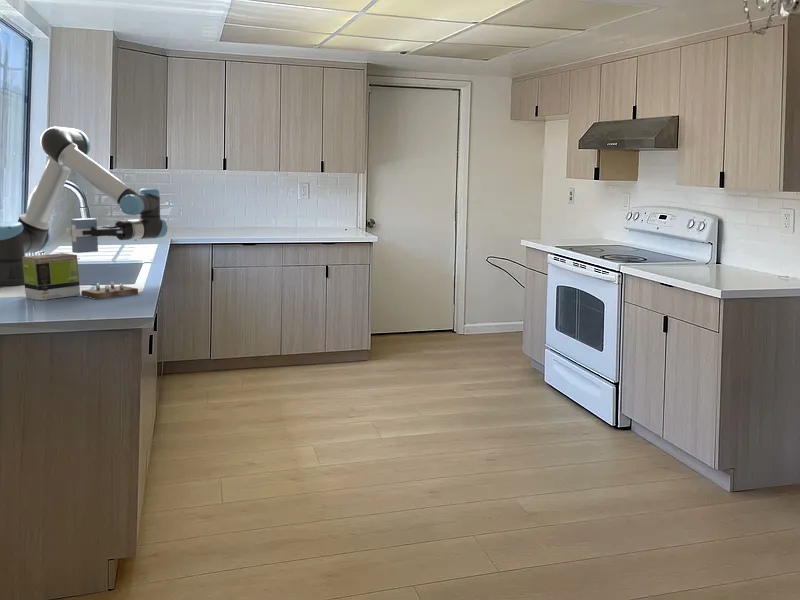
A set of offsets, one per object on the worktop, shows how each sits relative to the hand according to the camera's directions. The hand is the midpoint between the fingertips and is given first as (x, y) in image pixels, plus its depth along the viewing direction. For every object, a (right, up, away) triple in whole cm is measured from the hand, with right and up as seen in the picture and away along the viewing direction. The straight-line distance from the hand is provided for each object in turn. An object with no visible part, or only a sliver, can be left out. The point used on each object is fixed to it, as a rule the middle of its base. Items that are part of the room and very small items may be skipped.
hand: (70, 232), depth 276 cm
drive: (+3, -7, +5) cm, 9 cm away
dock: (+15, -22, -3) cm, 27 cm away
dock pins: (+15, -21, -3) cm, 26 cm away
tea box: (-3, -23, -8) cm, 25 cm away
